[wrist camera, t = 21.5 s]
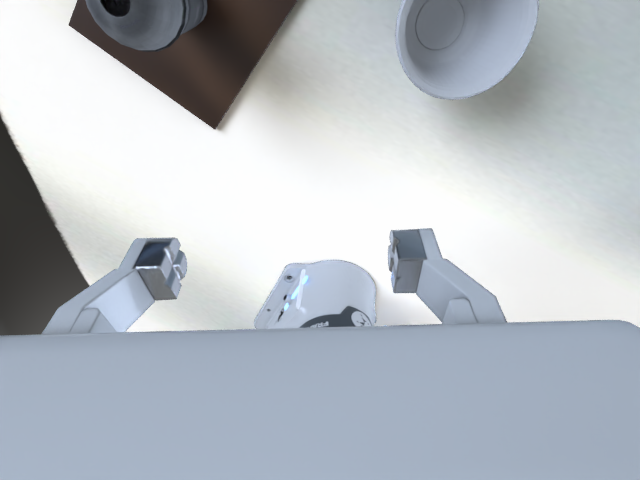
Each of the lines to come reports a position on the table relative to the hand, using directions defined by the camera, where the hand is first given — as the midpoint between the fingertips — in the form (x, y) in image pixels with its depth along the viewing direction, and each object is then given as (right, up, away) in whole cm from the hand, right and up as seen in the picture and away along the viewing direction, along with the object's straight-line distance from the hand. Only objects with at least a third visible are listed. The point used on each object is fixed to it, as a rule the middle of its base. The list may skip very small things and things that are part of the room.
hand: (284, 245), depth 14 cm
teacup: (+14, +25, +25) cm, 38 cm away
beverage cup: (-13, +25, +24) cm, 37 cm away
